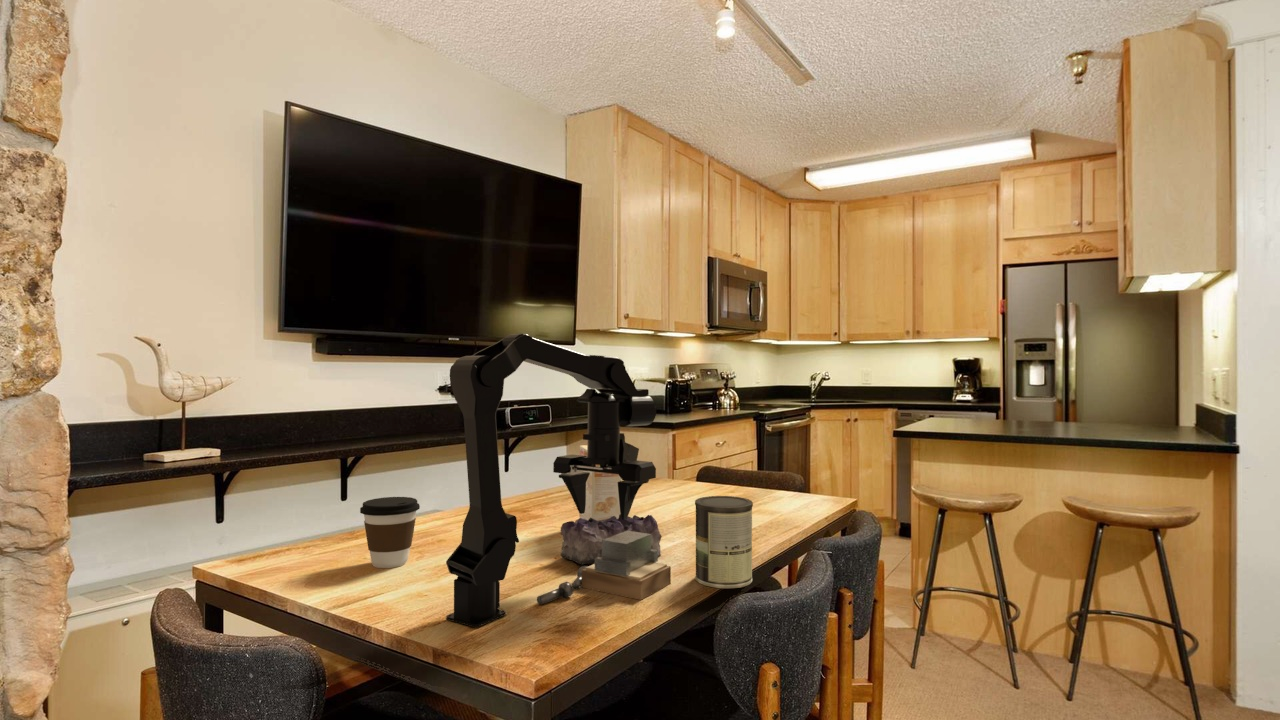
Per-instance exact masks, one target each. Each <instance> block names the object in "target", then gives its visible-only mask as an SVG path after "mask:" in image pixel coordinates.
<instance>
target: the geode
mask: <svg viewBox="0 0 1280 720" xmlns="http://www.w3.org/2000/svg"><path fill="white" fill-rule="evenodd" d="M625 531H633V532H640V533H647V534H651V549H654V550H658V559H659V558H660V557H662V556H661V552H662V551H661V545H660V543H661V540H662V538H663V537H662V535H661V533H660V529H659V524H658V521H656V519H655V518H654V516H653V515H652V514H650V515H649V514H648V515H646V516H645V517H644V516H641V517H639V516H638V515H636V514H634V515H633V516H632V517H631V516H629V515H628V517H627V519H626V520H622V518H621V514H620V515H619V518H618V519H617V518H616V517H615V516H612V517H610V518H609V519H607V520H602V521H597V520H595V519H593V518H591V517H590V519H589V520H586V519H582V518H579V517H578V519H576V520H575V521H573V520H571V521H566V522H564V523H561V526H560V535H561V536H562V538H563V541H562V545H561V553H560V556H561V557H562V558H564V559H567V560H570V561H573V562H576V563H577V564H579V565H581V566H584V565H590V564H591V565H593V564H595V558H597V557H602V540H603V539H606V538H609V537H611V536H614V535H617V534H619V533H622V532H625Z"/></svg>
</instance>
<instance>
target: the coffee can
mask: <svg viewBox="0 0 1280 720" xmlns="http://www.w3.org/2000/svg"><path fill="white" fill-rule="evenodd" d="M694 504H695V577H694V578H695V581H696V582H697V583H699V584H700V585H703V586H705V587H708V588H709V587H710V588H714V589H715V588H716V589H738V588H744V587H746V586H749V585H750V584H751V583H753V506H754V505H753V504H754V502H753V501H752V500H750V499H749V498H746V497H739V496H732V495H731V496H730V495H711V496H709V495H708V496H702V497H699V498H697V499H695V500H694Z"/></svg>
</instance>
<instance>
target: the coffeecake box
mask: <svg viewBox="0 0 1280 720" xmlns="http://www.w3.org/2000/svg"><path fill="white" fill-rule="evenodd" d="M579 455H583V456H587V444H586V445H582V444H581V445H579ZM596 467H600V465H596ZM607 469H611V468H607ZM583 472H590V475H589V477H588V479H587V481H586V506H585V513H583V514H580V513H579V512H578V513H579V517H578V519H579V518H582V519H586V520H589V519H590V517H591V518H593V519H595V520H597V521H602V520H607V519H609V518H610V517H612V516H615V517H616V518H617V519H618V518H619V515H620V514H621V513H620V504H619V493H618V482H620V481H622V479H621V477H620V476H619V474H611V473H602V472H593V471H583Z"/></svg>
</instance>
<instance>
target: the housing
mask: <svg viewBox="0 0 1280 720" xmlns="http://www.w3.org/2000/svg"><path fill="white" fill-rule="evenodd" d="M658 559H659V558H658V550H654V549H651V534H647V533H640V532H633V531H625V532H622V533H619V534H617V535H614V536H611V537H609V538H606V539H603V540H602V557H597V558H595V563H594V564H595V571H601V572H606V573H611V574H616V575H622V576H628V575H630V572H632V571H634V570H636V569H638V568H640V567H642V566H644V565H646V564H648V563H651V562H652V563H655V562H656V563H658V561H659V560H658Z"/></svg>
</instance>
